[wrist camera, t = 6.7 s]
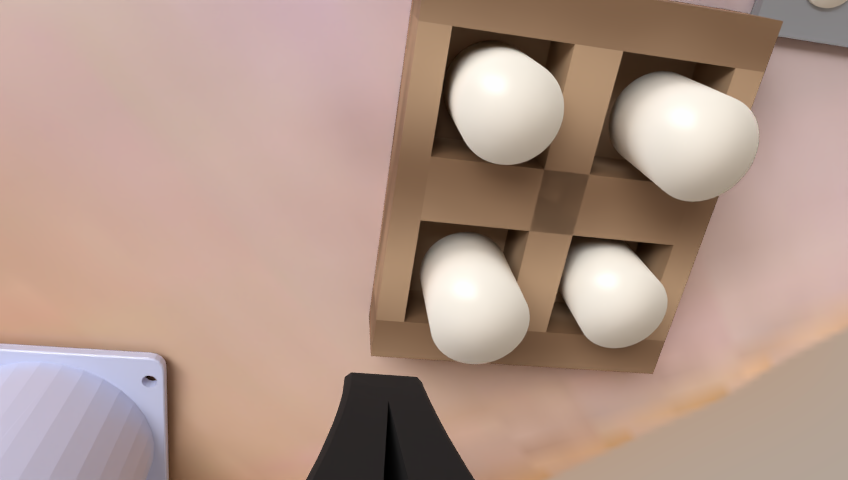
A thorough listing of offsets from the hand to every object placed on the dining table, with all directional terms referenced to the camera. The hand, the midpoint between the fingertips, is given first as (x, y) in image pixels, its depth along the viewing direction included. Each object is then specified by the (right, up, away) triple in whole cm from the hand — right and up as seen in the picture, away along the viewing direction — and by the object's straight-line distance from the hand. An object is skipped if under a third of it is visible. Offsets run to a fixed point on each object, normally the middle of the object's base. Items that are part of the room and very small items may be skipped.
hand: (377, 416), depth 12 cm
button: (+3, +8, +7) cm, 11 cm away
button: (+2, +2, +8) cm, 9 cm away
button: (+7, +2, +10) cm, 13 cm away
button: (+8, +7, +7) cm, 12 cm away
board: (+5, +5, +10) cm, 12 cm away
